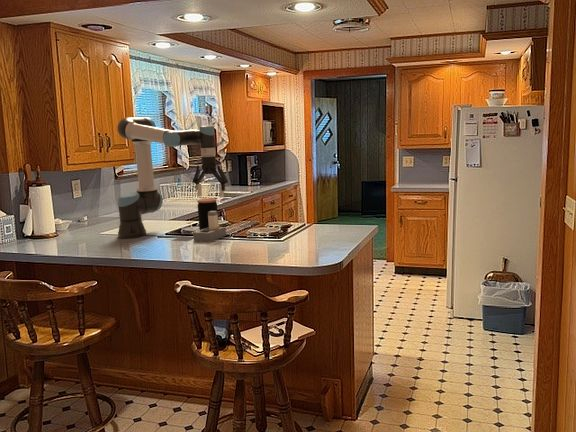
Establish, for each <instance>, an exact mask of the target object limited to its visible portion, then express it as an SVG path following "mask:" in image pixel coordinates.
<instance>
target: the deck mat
mask: <svg viewBox="0 0 576 432" xmlns="http://www.w3.org/2000/svg"><path fill="white" fill-rule="evenodd" d="M192 240H194V237H193V236H185V235H183V236H179V237H176V238H173V239H171V241H175V242H189V241H192Z"/></svg>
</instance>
